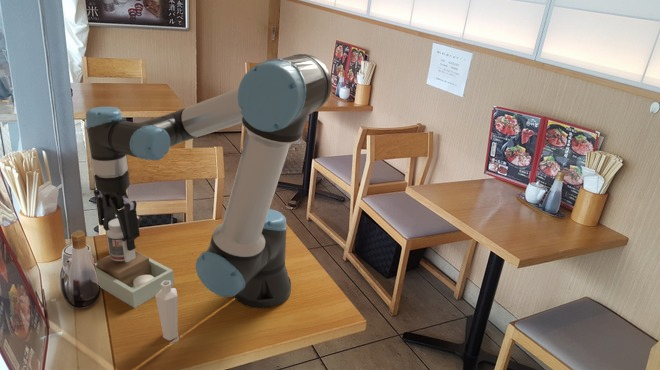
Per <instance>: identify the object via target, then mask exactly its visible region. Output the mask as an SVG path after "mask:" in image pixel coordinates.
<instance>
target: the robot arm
mask: <svg viewBox="0 0 660 370" xmlns="http://www.w3.org/2000/svg"><path fill="white" fill-rule="evenodd" d="M239 83H240V84H239V85H238V88H235V89H232V90H229V91H227V92H225V93H222V94H220V95H216V96H214V97H210V98H209V99H208V98H207V99H206V100H203V101H200V102H198V103H195V104H192V105H190V106H187V107H185V108H181V109H179V110H176V111H173V112H169V113H168V114H165V115H161V116H158V117H154V118H151V119H147V120H145V121H141V122H134V121H133V122H132V121H129V120H125V119H123V118H124V117H123V113H122V111H121V109H119V108H118V107H116V106H97V107H93V108H90V109H88V110H87V111H86V112H85V123H86V124H85V129H86V131H87V137H88V144H89V150H90V158H91V163H92V171H93V174H94V176H93V177H94V178H93V179H94V184H95V189H94V190H93V194H94V197H95V203H96V213H97V218H98V225H99V226H103V227H102V228H103V230H104V231H105V235H106V239H107V240H106V241H107V248H108V254H110V250H109V243H108V236H107V233H108V231H109V230H110V229H109V226H108V223H109V221H111V220H113V219H116V217H117V218H118V221H119V224H120V227H121V230H122V233H123V237H124V238H123V239H121V240H122V244H123V252H124V260H125V262H128V261H131V260H133V259H135V258H136V255H135V251H136V248H135V246H136V244H135V240H136V239H137V238H139V237H141V235H140V225H139V226H138V220H137V215H138V213H137V202H136V200H132V201H131V200H130V199H129V196H128V194H127V193H128V192H127V190H128V188H130V184H131V182H130V173H129V171H128V168H129V167H128V160H127V156H131V157H133V158H134V157H135V158H138V159H141V160H146V161H160V160H162V159H163V158H165V155H167V154H168V153H169V150H170V148H171V147H173V146H176V145H179V144H182V143H185V142H187V141H191V140H193V139H196V138H199V137H202V136H206V135H209V134H211V133H214V132H218V131H220V130H223V129H228V128H231V127H233V126H236V125H239V124H242V126H243V129H244V130H246V135H245V140H244V143H243V147H242V149H241V153H240V154H241V155H240V158H239V162H238V165H237V169H236V173H235V176H234V181H233V184H232V188H231V191H230V195H229V198H228V203H227V206H226V210H225V213H224V217H223V221H222V223H219V224H218V225H217V226H216V227H215V228H214V230H212V231H213V232H212V235H211V238H210V243H209V246H208V248H207V250H206V251H202V253H201V254H200V255H199V256H198V258H197V259H196V261H195V271H196V274H197V277H198V279H199V280H200V281H201V283H202V284H203V286H204V287H205V288H206V289H207V290H209V291H210V292H211V293H213V294H214V295H217V296H219V297H224V298H228V297H231V298H232V297H234V298H235V300H236V301H237V302H238V303H240V304H241V305H243V306H246V307H249V308H252V309H254V308H255V309H268V308H274V307H277V306H280V305H281V304H283V303H285V302H286V301H287V300H288V299H289V298H290V295H291V293H292V282H291V278H290V277H289V274H288V269H287V266H286V251H287V250H286V248H287V246H286V245H287V229H288V228H287V218H286V216H285V215H284V214H283V213H282V212H280V211H278V210H275V209H271V205H272V201H273V198H274V196H275V192H276V190H277V187H278V184H279V183H278V182H279V180H280V176H281V174H282V171H283V168H284V165H285V161H286V158H287V155H288V151H289V148H290V146H291V145H292V144H295V143H297V142H299V141H300V140H301V138H302V135H303V133H304V132H303V131H304V129H305V125H306V123H307V120H308V118H309V115H310V114H312V113H315V112H316V111H317V110H319V109H321V108H322V107H323V106H325V104H326V103H327V102H328V100H329V98H330V97H331V93H332V89H333V80H332V75H331V73H330V70H329V68H328V67H327V65H326V64H325V63H324V62H323V61H322V60H321V59H320V58H318V57H316V56H314V55H311V54H307V53H297V54H294V55H289V56H286V57H282V58H274V59H273V58H272V59H271V58H270V59H268V60H265V61H263V62H261V63H259V64H257V65H255V66H253V67H252V68H250V69H249V70H248V71H247V72H246V73H245V75H243V77H242V78H241V80H240V82H239ZM135 238H136V239H135ZM134 239H135V240H134Z"/></svg>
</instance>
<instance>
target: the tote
mask: <svg viewBox="0 0 660 370" xmlns="http://www.w3.org/2000/svg"><path fill="white" fill-rule="evenodd" d="M135 251H136V252H138V251H137V250H135ZM138 253H140V252H138ZM140 254H142V255H144V254H143V253H140ZM148 258H149V264H150V274H151V276H153V277H154V278H153V279H151V280H150V281H148V282H146V283H144V284H142V285H140V286H139V287H137V288H135V289H134V287H132V288H131V287H129V286H127V285H126V284H124V283H122V282H120V281H119V280H117V279H115V278H113V277H112V276H110V275H108V274H107V273H105V272H103V271H101V270H100V269H98V268H97V263H96V262H95V263H94V264H95V268H96V274H97V278H98V282H99V286H100V287H99V286H98V287H99V288H101V289H103V290H104V291H106V292H107V293H109V294H110V295H112V296H114V297H115V298H117V299H118V300H120V301H122V302H124V303H125V304H128V306H130V307H131V308H134V309H136V308H138V307H139V306H141V305H142V304H145V303H146V302H148V301H150V300H151V299H153V298H154V297H155V296H156V294H157V293H158V292H159V291H160V290H161V289H162V286H161V283H162V282H163V281H171V288H173V286H174V285H175V275H174V270H173V269H171V268H170V267H168V266H166V265H163V263H160V262H158V261H156V260H154V259H152V258H151V257H148ZM155 298H156V297H155Z"/></svg>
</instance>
